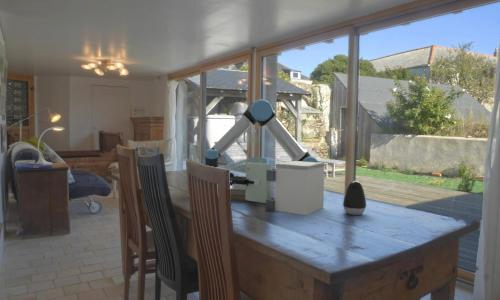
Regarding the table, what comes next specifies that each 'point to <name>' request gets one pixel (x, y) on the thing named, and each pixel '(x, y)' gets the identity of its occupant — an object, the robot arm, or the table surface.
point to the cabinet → (299, 187)
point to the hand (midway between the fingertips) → (261, 182)
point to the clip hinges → (271, 203)
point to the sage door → (259, 173)
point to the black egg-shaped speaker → (354, 199)
